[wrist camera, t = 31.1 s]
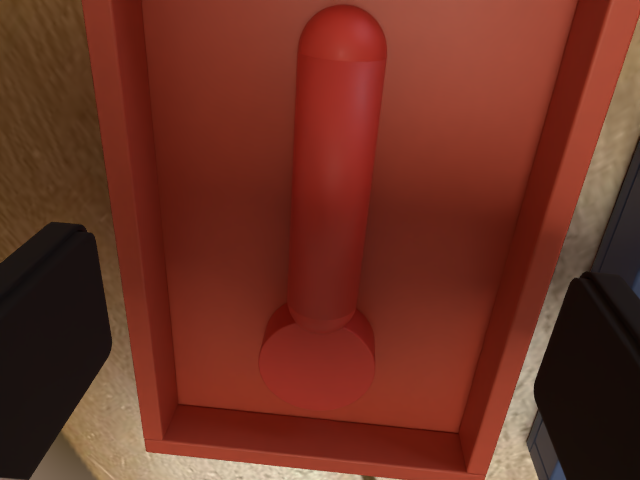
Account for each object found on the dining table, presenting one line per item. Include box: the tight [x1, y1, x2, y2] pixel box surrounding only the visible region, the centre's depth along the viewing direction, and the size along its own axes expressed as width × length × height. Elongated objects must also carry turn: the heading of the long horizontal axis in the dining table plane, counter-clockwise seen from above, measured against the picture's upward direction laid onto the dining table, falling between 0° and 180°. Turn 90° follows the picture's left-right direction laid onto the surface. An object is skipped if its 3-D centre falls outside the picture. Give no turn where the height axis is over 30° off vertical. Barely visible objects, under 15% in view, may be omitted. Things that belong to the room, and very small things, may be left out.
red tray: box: [82, 0, 640, 480], centre depth 13 cm, size 15×10×2 cm
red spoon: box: [258, 4, 387, 411], centre depth 12 cm, size 11×3×2 cm, turn 176°
